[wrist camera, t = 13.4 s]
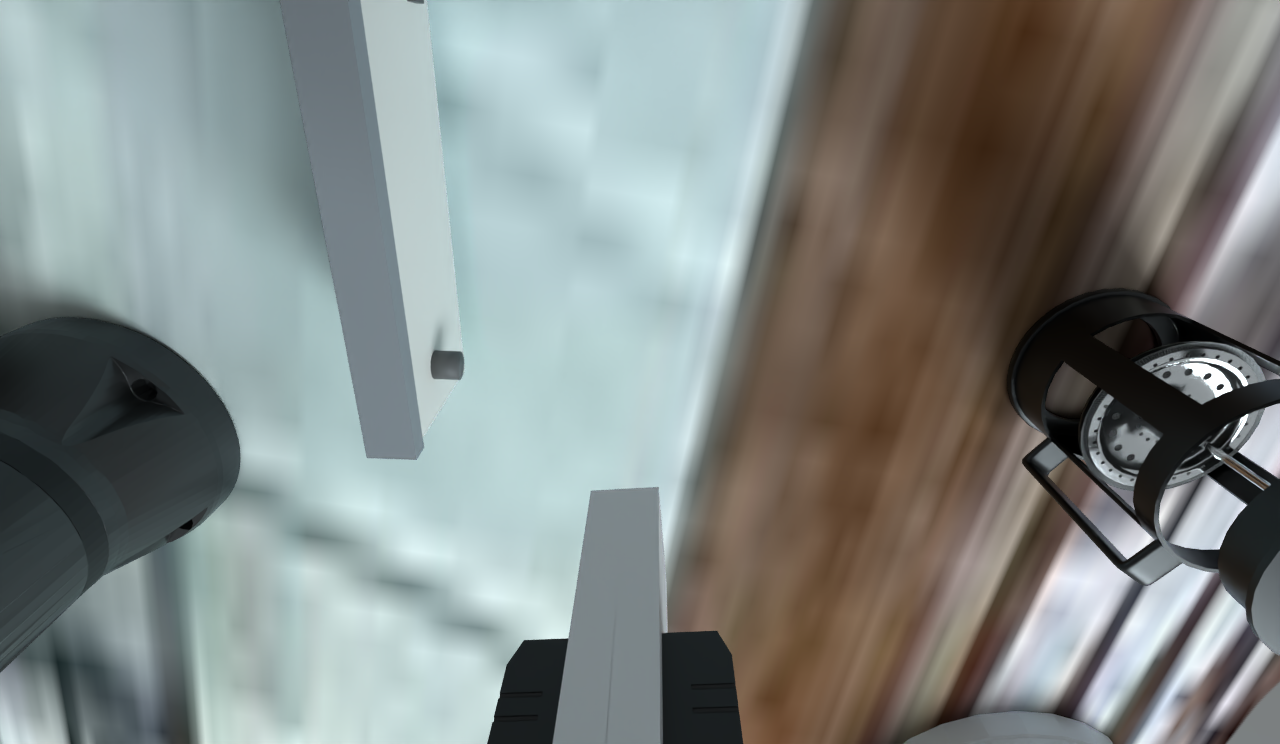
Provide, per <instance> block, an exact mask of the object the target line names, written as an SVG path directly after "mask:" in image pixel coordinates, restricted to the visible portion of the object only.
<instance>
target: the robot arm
mask: <svg viewBox="0 0 1280 744" xmlns="http://www.w3.org/2000/svg"><path fill="white" fill-rule="evenodd" d="M239 469H240V447H239V441H238V437H237V434H236V431H235V428H234V425H233V423H232V420H231V418H230V416H229V414H228V412H227V410H226V408H225V407H224V405H223V403H222V402H221V400H220V399H219V398H218V396H217V395H216V393H215V392H214V391H213V389H212V388H211V387H210V386H209V385H208V384H207V382H206V381H205V380H204V379H203V378H202V377H201V376H200V375H199V374H198V373H197V372H196V371H195V370H194V369H193V368H192V367H191V366H189V365H188V364H187V363H186V362H185V361H183V360H182V359H181V358H180V357H178V356H177V355H175V354H174V353H173V352H171V351H170V350H168V349H167V348H165V347H164V346H162V345H160V344H159V343H157V342H155V341H153V340H151V339H149V338H147V337H146V336H144V335H141V334H139V333H137V332H135V331H132V330H130V329H127V328H124V327H121V326H118V325H115V324H112V323H108V322H104V321H99V320H94V319H87V318H75V317H62V318H52V319H46V320H42V321H38V322H35V323H32V324H29V325H27V326H24V327H22V328H20V329H17V330H15V331H12V332H10V333H8V334H5V335H3V336H0V672H1V671H3V670H4V669H5V668H6V667H7V666H8V665H9V664H10V663H11V662H12V661H13V660H14V659H15V658H16V657H17V656H18V655H19V654H20V653H21V652H22V651H23V650H25V649H26V648H27V647H28V646H29V645H30V644H31V643H32V642H33V641H34V640H35V639H36V638H37V637H38V636H39V635H40V634H41V633H42V632H43V631H44V630H45V629H46V628H48V627H49V626H50V625H51V624H52V623H53V622H54V621H55V620H56V619H57V618H58V617H59V616H60V615H61V614H62V613H63V612H64V611H65V610H66V609H67V608H68V607H70V606H71V605H72V604H73V603H74V602H75V601H76V600H77V599H78V598H79V597H80V596H81V595H82V594H83V593H84V592H85V591H86V590H88V589H89V588H90V587H91V586H92V585H93V584H94V583H96V582H97V581H98V580H99V579H100V578H101V577H102V576H104V575H106V574H108V573H110V572H112V571H114V570H116V569H118V568H120V567H122V566H124V565H126V564H128V563H130V562H132V561H134V560H136V559H138V558H140V557H142V556H144V555H146V554H148V553H150V552H152V551H154V550H156V549H158V548H160V547H161V546H163V545H165V544H166V543H169V542H172V541H174V540H176V539H178V538H180V537H182V536H184V535H186V534H188V533H189V532H191V531H192V530H194V529H195V528H196V527H198V526H199V525H200V524H202V523H203V522H204V521H205V520H206V519H207V518H208V517H209V516H210V515H211V514H212V513H213V512H214V511H215V510H216V509H217V508H218V507H219V506H220V505H221V504H222V503H223V502H224V501H225V500H226V498H227V497H228V496H229V494H230V493H231V491H232V490H233V488H234V486H235V483H236V481H237V478H238V474H239ZM487 744H743V739H742V731H741V724H740V716H739V710H738V700H737V692H736V686H735V677H734V669H733V661H732V654H731V653H730V651H729V649H728V648H727V646H726V645H725V643H724V641H723V640H722V638H721V637H720V635H719V633H718V632H717V631H700V632H676V633H668V632H667V583H666V569H665V558H664V546H663V534H662V522H661V510H660V498H659V487H652V488H634V489H615V490H597V491H591V494H590V501H589V507H588V514H587V520H586V527H585V534H584V540H583V547H582V553H581V560H580V566H579V573H578V580H577V586H576V593H575V599H574V606H573V612H572V619H571V626H570V632H569V639H545V640H524V641H523V642H522V644H521V645H520V647H519V648H518V650H517V651H516V653H515V654H514V655H513V657H512V658H511V660H510V661H509V663H508V664H507V666H506V670H505V674H504V678H503V682H502V686H501V690H500V698H499V699H498V703H497V707H496V711H495V715H494V722H493V723H492V727H491V731H490V735H489V739H488V743H487Z"/></svg>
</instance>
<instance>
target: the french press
mask: <svg viewBox="0 0 1280 744" xmlns="http://www.w3.org/2000/svg"><path fill="white" fill-rule="evenodd" d="M1138 318H1140V319H1142V320H1144V321H1145V322H1146V323H1147V324H1148V325H1149V326H1150V327H1151V328H1152V329H1153V331H1154V333H1155V336H1156V338H1157V342H1158V347H1157V348H1154V349H1151V350H1148V351H1145V352H1143V353H1141V354H1139V355H1137V356H1135V357H1133V358H1131V359H1128V358H1126V357H1125V356H1123V355H1121V354H1120V353H1118V352H1117V351H1115V350H1113V349H1112V348H1110V347H1109V346H1107V345H1105V344H1104V343H1102V342H1101V341H1099V340H1097V339H1096V338H1094V337H1093V336H1094V335H1096V334H1098V333H1100V332H1102V331H1103V330H1105V329H1107V328H1109V327H1112V326H1114V325H1117V324H1119V323H1122V322H1125V321H1129V320H1133V319H1138ZM1064 362H1065V363H1066V364H1068V365H1069V366H1071V367H1072V368H1073V369H1075V370H1076V371H1077V372H1079V373H1080V374H1082V375H1083V376H1084V377H1086V378H1087V379H1088V380H1090V381H1091V382H1093V383H1094V384H1095V385H1097V387H1096V388H1095V390H1094V391H1093V393H1092V394H1091V396H1090V398H1089V399H1088V401H1087V403H1086V405H1085V408H1084V410H1083V412H1082V415H1081V419H1067V418H1062V417H1059V416H1056V415H1053V414H1052V413H1050V412H1048V411H1047V410H1046V409H1045V401H1046V396H1047V392H1048V389H1049V386H1050V384H1051V382H1052V380H1053V378H1054V376H1055V374H1056V373H1057V371H1058V370H1059V368H1060V367H1061V365H1062V364H1063V363H1064ZM1259 366H1261V367H1263V368H1265V369H1267V370H1269V371H1271V372H1273V373H1275V374H1277V375H1279V376H1280V361H1278V360H1276V359H1274V358H1272V357H1270V356H1268V355H1265V354H1263V353H1261V352H1259V351H1257V350H1255V349H1253V348H1251V347H1249V346H1247V345H1244V344H1242V343H1240V342H1238V341H1236V340H1234V339H1232V338H1230V337H1228V336H1225V335H1223V334H1221V333H1219V332H1217V331H1215V330H1213V329H1211V328H1209V327H1207V326H1204V325H1202V324H1200V323H1198V322H1196V321H1194V320H1192V319H1190V318H1188V317H1186V316H1183V315H1181V314H1179V313H1177V312H1175V311H1173V310H1171V309H1170V307H1169V306H1168V305H1166V304H1165V303H1163V302H1162V301H1160V300H1159V299H1158V298H1156V297H1154V296H1152V295H1149V294H1146V293H1143V292H1141V291H1138V290H1130V289H1123V288H1118V289H1102V290H1098V291H1094V292H1089V293H1085V294H1082V295H1080V296H1077V297H1075V298H1072V299H1070V300H1068V301H1066V302H1064V303H1063V304H1061V305H1059V306H1057V307H1056V308H1054V309H1052V310H1051V311H1050V312H1048V313H1047V314H1046V315H1045V316H1043V317H1042V318H1041V319H1040V320H1038V321H1037V322H1036V323H1035V324H1034V326H1033V327H1032V328H1031V329H1030V330H1029V331H1028V332H1027V333H1026V334H1025V336H1024V337H1023V339H1022V340H1021V342H1020V343H1019V345H1018V346H1017V348H1016V350H1015V352H1014V355H1013V357H1012V360H1011V362H1010V366H1009V371H1008V376H1007V386H1008V393H1009V397H1010V401H1011V404H1012V406H1013V407H1014V409H1015V411H1016V412H1017V414H1018V415H1019V416H1020V417H1021V418H1022V419H1023V420H1024V421H1025V422H1026V423H1027V424H1028V425H1029V426H1031V427H1033V428H1034V429H1036V430H1038V431H1039V432H1041V433H1043V434H1044V435H1045V436H1046V437H1047V438H1046V439H1045V440H1044V441H1043V442H1041V443H1040V444H1039V445H1038V446H1037V447H1036V448H1034V449H1033V450H1032V451H1031V452H1030V453H1028V454H1027V455H1026V456H1025V457H1024V458H1023V459H1022V463H1023V465H1024V466H1025V468H1026V469H1027V470H1028V471H1029V472H1030V473H1031V474H1032V475H1033V476H1034V478H1035V479H1036V480H1037V481H1038V482H1039V483H1040V484H1041V485H1042V486H1043V487H1044V488H1045V490H1046V491H1047V492H1048V493H1049V494H1050V495H1051V496H1052V497H1053V498H1054V499H1055V500H1056V502H1057V503H1058V504H1059V505H1060V506H1061V507H1062V508H1063V509H1064V510H1065V511H1066V512H1067V514H1068V515H1069V516H1070V517H1071V518H1072V519H1073V520H1074V521H1075V522H1076V523H1077V524H1078V526H1079V527H1080V528H1081V529H1082V530H1083V531H1084V532H1085V533H1086V534H1087V535H1088V536H1089V538H1090V539H1091V540H1092V541H1093V542H1094V543H1095V544H1096V545H1097V546H1098V547H1099V548H1100V550H1101V551H1102V552H1103V553H1104V554H1105V555H1106V556H1107V557H1108V558H1109V559H1110V560H1111V562H1112V563H1113V564H1114V565H1115V566H1116V567H1117V568H1118V569H1120V570H1121V571H1123V572H1124V573H1125V574H1127V575H1128V576H1130V577H1131V578H1132V579H1134V580H1135V581H1137V582H1138V583H1139V584H1141V585H1144V586H1148V585H1151V584H1152V583H1154V582H1156V581H1157V580H1159V579H1160V578H1161V577H1163V576H1164V575H1166V574H1167V573H1169V572H1170V571H1172V570H1173V569H1175V568H1176V567H1177V566H1179V565H1180V564H1182V563H1184V564H1185V565H1187V566H1189V567H1193V568H1196V569H1199V570H1203V571H1207V572H1215V573H1219V576H1220V579H1221V581H1222V583H1223V585H1224V587H1225V589H1226V591H1227V592H1228V593H1229V594H1230V595H1231V596H1232V597H1233V598H1234V599H1235V600H1236V601H1237V602H1238V603H1239V604H1241V605H1242V606H1243V607H1244V608H1245V609H1246V616H1247V621H1248V623H1249V625H1250V627H1251V629H1252V631H1253V633H1254V634H1255V635H1256V636H1257V637H1258V638H1259V639H1260V640H1261V641H1262V642H1263V643H1264V644H1265V645H1266V646H1267V647H1268V648H1269V649H1270V650H1271V651H1272V652H1274V653H1276V654H1278V655H1280V479H1278V478H1277V477H1275V476H1274V475H1272V474H1271V473H1269V472H1268V471H1266V470H1265V469H1263V468H1262V467H1260V466H1259V465H1257V464H1256V463H1254V462H1253V461H1251V460H1250V459H1248V458H1247V457H1245V456H1244V455H1242V454H1241V453H1239V452H1238V451H1239V450H1240V448H1241V447H1242V446H1243V445H1244V444H1245V443H1246V442H1247V441H1248V440H1249V438H1250V437H1251V435H1252V434H1253V432H1254V431H1255V429H1256V427H1257V426H1258V424H1259V422H1260V420H1261V417H1262V415H1263V412H1264V410H1265V408H1266V407H1269V406H1272V405H1275V404H1278V403H1280V379H1272V380H1267V381H1266V380H1265V377H1264V375H1263V372H1262V370H1261V368H1260V367H1259ZM1068 457H1069V458H1070V459H1071V460H1072V461H1073V462H1074V463H1075V464H1076V465H1077V466H1078V467H1079V468H1080V469H1081V470H1082V471H1083V472H1084V473H1085V474H1086V475H1087V476H1088V477H1090V478H1091V479H1092V480H1093V481H1094V482H1095V483H1096V484H1097V485H1098V486H1099V487H1100V488H1101V489H1102V490H1103V491H1104V492H1105V493H1106V494H1107V495H1108V496H1109V497H1111V498H1112V499H1113V500H1114V501H1115V502H1116V503H1117V504H1118V505H1119V506H1120V507H1121V508H1122V509H1123V510H1124V511H1125V512H1126V513H1127V514H1128V515H1129V516H1130V517H1132V518H1133V519H1134V520H1135V521H1136V522H1137V523H1138V524H1139V525H1140V526H1141V527H1142V528H1143V529H1144V530H1145V531H1146V532H1147V533H1148V534H1149V535H1150V536H1151V537H1153V538H1154V539H1155V540H1154V541H1153V542H1152V543H1150V544H1149V545H1147V546H1146V547H1145V548H1143V549H1142V550H1140V551H1139V552H1138V553H1136V554H1135V555H1133V556H1132V557H1131V558H1129V559H1128V560H1127V559H1126V558H1125V557H1124V556H1123V555H1122V554H1121V553H1120V552H1119V551H1118V550H1117V549H1116V547H1115V546H1114V545H1113V544H1112V543H1111V542H1110V541H1109V540H1108V539H1107V538H1106V537H1105V536H1104V535H1103V534H1102V533H1101V532H1100V531H1099V530H1098V529H1097V527H1096V526H1095V525H1094V524H1093V523H1092V522H1091V521H1090V520H1089V519H1088V518H1087V517H1086V516H1085V515H1084V514H1083V513H1082V512H1081V511H1080V510H1079V509H1078V508H1077V506H1076V505H1075V504H1074V503H1073V502H1072V501H1071V500H1070V499H1069V498H1068V497H1067V496H1066V495H1065V494H1064V493H1063V492H1062V491H1061V490H1060V489H1059V488H1058V487H1057V485H1056V484H1055V483H1054V482H1053V481H1052V480H1051V479H1050V478H1049V477H1048V474H1049V473H1050V472H1051V471H1052V470H1053V469H1054V468H1056V467H1057V466H1058V465H1059V464H1060V463H1062V462H1063V461H1064V460H1065V459H1067V458H1068ZM1080 459H1082V460H1085V462H1086V464H1087V465H1085V464H1084V463H1083V462H1082V461H1081V460H1080ZM1204 475H1207V476H1209V477H1210V478H1211V479H1213V480H1214V481H1215V482H1217V483H1218V484H1219V485H1221V486H1222V487H1223V488H1225V489H1226V490H1227V491H1229V492H1230V493H1231V494H1233V495H1234V496H1235V497H1237V498H1238V499H1239V500H1241V501H1242V502H1243V503H1245V504H1246V505H1247V506H1246V507H1245V508H1244V509H1243V510H1242V512H1241V513H1240V514H1239V515H1238V516H1237V518H1236V519H1235V521H1234V522H1233V524H1232V525H1231V527H1230V528H1229V530H1228V531H1227V533H1226V536H1225V538H1224V540H1223V543H1222V545H1221V547H1220V549H1218V550H1199V549H1190V548H1184V547H1181V546H1178V545H1174V544H1171V543H1169V542H1168V541H1167V540H1166V539H1165V538H1164V537H1163V536H1162V534H1161V529H1160V524H1159V509H1160V502H1161V499H1162V496H1163V494H1164V491H1165V489H1169V488H1174V487H1177V486H1180V485H1183V484H1186V483H1189V482H1192V481H1194V480H1196V479H1198V478H1200V477H1202V476H1204ZM1106 483H1107V484H1109V485H1111V486H1114V487H1117V488H1120V489H1123V490H1130V491H1134V496H1133V503H1134V508H1135V510H1134V509H1133V508H1132V507H1131V506H1129V505H1128V504H1127V503H1126V502H1125V501H1124V500H1123V499H1122V498H1121V497H1120V496H1119V495H1118V494H1117V493H1116V492H1114V491H1113V490H1112V489H1111V488H1110V487H1109V486H1108V485H1107V484H1106Z"/></svg>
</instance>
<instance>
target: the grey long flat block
mask: <svg viewBox="0 0 1280 744" xmlns="http://www.w3.org/2000/svg"><path fill="white" fill-rule="evenodd" d="M280 5H281V10H282V15H283V21H284V26H285V31H286V36H287V41H288V47H289V52H290V57H291V62H292V68H293V73H294V78H295V83H296V89H297V94H298V99H299V104H300V110H301V115H302V120H303V125H304V131H305V136H306V141H307V146H308V152H309V157H310V162H311V167H312V173H313V178H314V183H315V188H316V194H317V199H318V204H319V209H320V215H321V220H322V225H323V230H324V236H325V241H326V246H327V251H328V257H329V262H330V267H331V272H332V278H333V283H334V288H335V293H336V298H337V304H338V309H339V314H340V319H341V325H342V330H343V335H344V340H345V346H346V351H347V356H348V361H349V367H350V372H351V377H352V382H353V388H354V393H355V398H356V403H357V409H358V414H359V419H360V424H361V430H362V435H363V440H364V445H365V451H366V456H367V458H382V459H409V460H417V458H418V457H419V455H420V453H421V452H422V450H423V448H424V443H423V438H424V436H425V434H426V433H427V431H428V430H429V428H430V426H431V425H432V423H433V422H434V420H435V418H436V417H437V415H438V414H439V412H440V410H441V409H442V407H443V405H444V404H445V402H446V401H447V399H448V397H449V396H450V394H451V393H452V391H453V389H454V388H455V386H456V385H457V383H458V381H459V380H460V379H461V378H462V376H463V373H464V372H465V365H464V355H463V345H462V335H461V326H460V316H459V306H458V296H457V287H456V277H455V267H454V257H453V248H452V238H451V228H450V218H449V209H448V199H447V189H446V179H445V170H444V160H443V150H442V141H441V131H440V121H439V111H438V102H437V92H436V82H435V72H434V63H433V53H432V43H431V33H430V24H429V14H428V4H427V0H280Z"/></svg>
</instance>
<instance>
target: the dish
mask: <svg viewBox="0 0 1280 744" xmlns="http://www.w3.org/2000/svg"><path fill="white" fill-rule="evenodd" d="M903 744H1113V743H1112V741H1111V740H1110V739H1109V738H1108V736H1106V735H1104V734H1102V733H1101V732H1099V731H1097V730H1096V729H1094V728H1092V727H1091V726H1089V725H1087V724H1085V723H1084V722H1080V721H1077V720H1073V719H1070V718H1066V717H1063V716H1059V715H1055V714H1050V713H1037V712H1025V711H1010V712H1000V713H989V714H979V715H975V716H971V717H967V718H963V719H960V720H956V721H952V722H948V723H944V724H941V725H939V726H937V727H934V728H932V729H930V730H928V731H925V732H923V733H921V734H919V735H917V736H914V737H912V738H910V739H908V740H907V741H906V742H904V743H903Z"/></svg>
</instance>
